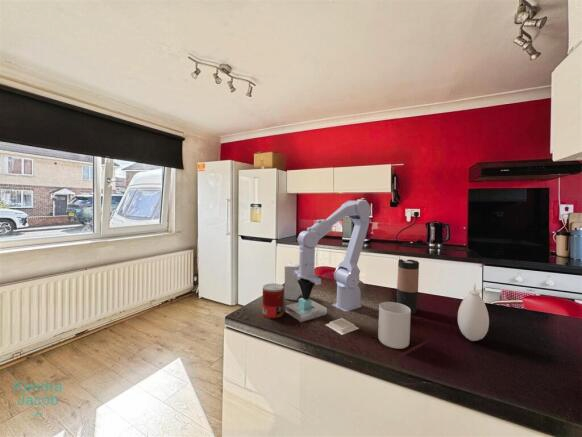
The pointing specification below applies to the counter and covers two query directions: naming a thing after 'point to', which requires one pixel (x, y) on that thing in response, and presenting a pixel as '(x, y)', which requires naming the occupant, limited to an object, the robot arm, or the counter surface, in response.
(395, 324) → the mug
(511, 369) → the counter surface
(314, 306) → the port panel
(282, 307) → the canned food
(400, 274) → the travel mug
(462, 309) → the sauce bottle
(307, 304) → the plug
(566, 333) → the counter surface
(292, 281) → the skincare box
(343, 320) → the white square dish
